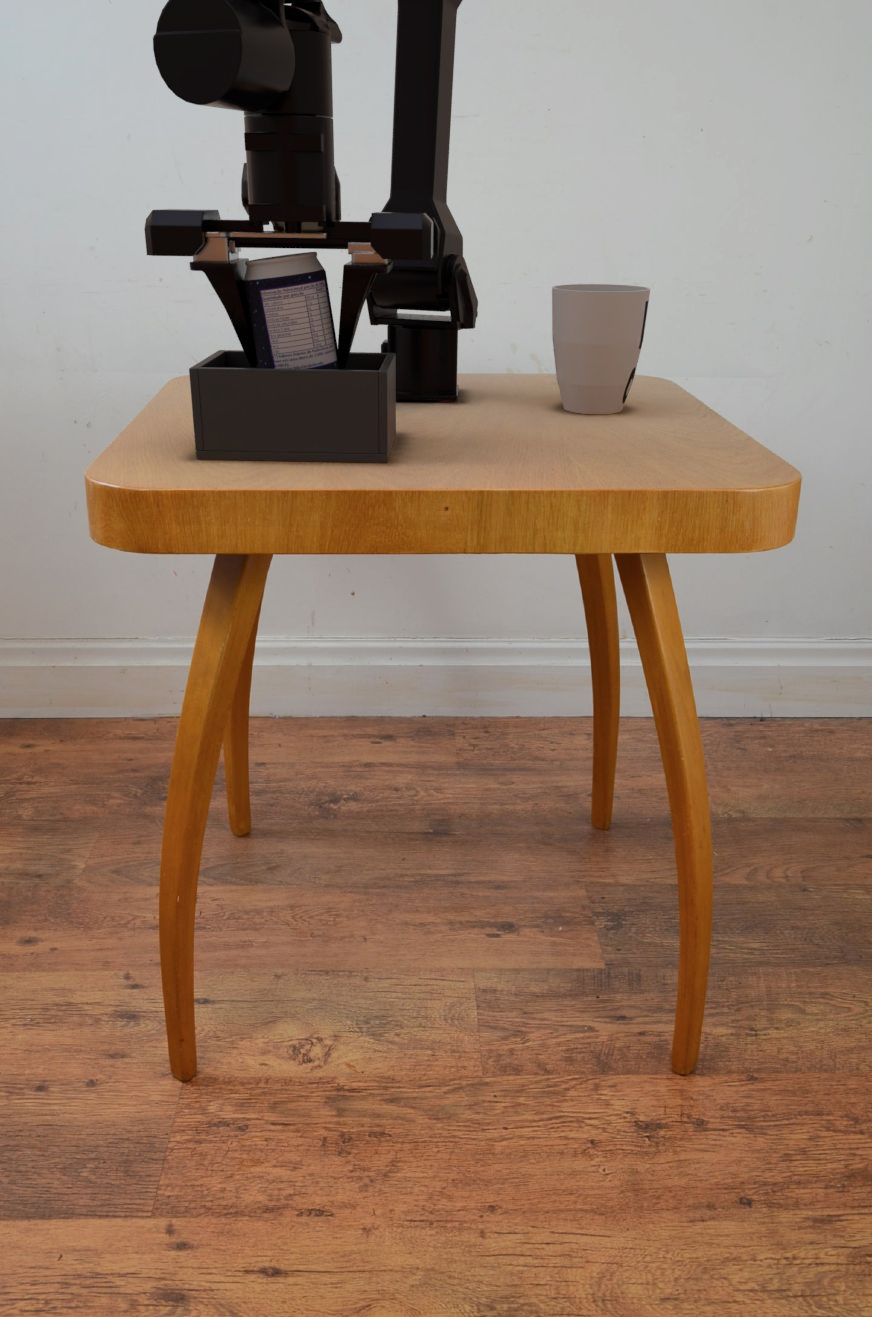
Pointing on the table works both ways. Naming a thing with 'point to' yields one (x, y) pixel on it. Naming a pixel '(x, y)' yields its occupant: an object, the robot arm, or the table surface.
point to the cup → (597, 343)
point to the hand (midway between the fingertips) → (298, 366)
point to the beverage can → (291, 312)
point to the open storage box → (294, 410)
